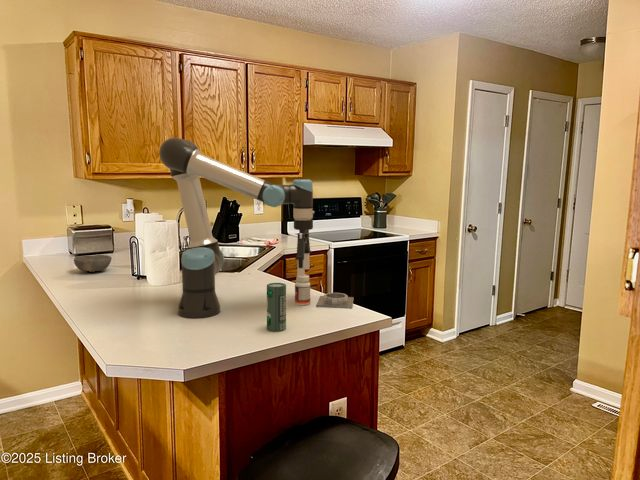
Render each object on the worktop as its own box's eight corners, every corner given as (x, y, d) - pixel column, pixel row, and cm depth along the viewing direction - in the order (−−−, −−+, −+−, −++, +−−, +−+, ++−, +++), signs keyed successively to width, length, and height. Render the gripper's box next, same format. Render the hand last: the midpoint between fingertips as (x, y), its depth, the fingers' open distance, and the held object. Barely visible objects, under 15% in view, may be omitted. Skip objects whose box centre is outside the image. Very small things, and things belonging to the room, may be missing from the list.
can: (272, 324, 161) (272, 282, 159) (288, 327, 159) (288, 283, 157) (264, 330, 155) (263, 285, 153) (280, 332, 153) (280, 287, 151)
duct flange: (352, 308, 182) (352, 300, 182) (316, 306, 183) (316, 299, 183) (353, 299, 196) (353, 292, 195) (320, 297, 197) (320, 290, 197)
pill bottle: (294, 301, 191) (294, 274, 189) (309, 301, 191) (309, 274, 190) (295, 305, 185) (295, 277, 183) (310, 305, 185) (311, 277, 184)
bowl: (111, 274, 238) (110, 258, 237) (72, 276, 232) (71, 260, 231) (112, 267, 255) (112, 253, 254) (76, 269, 248) (75, 254, 247)
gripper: (308, 222, 171) (308, 279, 174) (316, 216, 195) (316, 266, 198) (288, 222, 172) (288, 279, 174) (298, 216, 196) (299, 266, 199)
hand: (303, 272), depth 186 cm, fingers open, 13 cm apart
